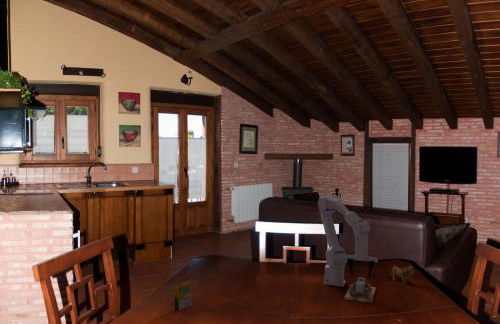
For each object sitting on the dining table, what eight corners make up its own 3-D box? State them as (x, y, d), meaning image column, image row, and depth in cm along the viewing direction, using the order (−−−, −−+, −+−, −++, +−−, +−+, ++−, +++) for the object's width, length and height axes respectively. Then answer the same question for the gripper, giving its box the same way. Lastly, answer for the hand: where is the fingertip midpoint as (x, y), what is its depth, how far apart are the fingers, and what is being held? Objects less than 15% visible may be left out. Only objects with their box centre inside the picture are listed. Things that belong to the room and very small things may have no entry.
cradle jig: (344, 299, 191) (344, 292, 191) (350, 286, 208) (350, 280, 207) (372, 303, 186) (372, 296, 186) (375, 289, 203) (375, 283, 203)
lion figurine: (416, 284, 212) (416, 266, 211) (410, 286, 209) (410, 268, 208) (390, 276, 223) (391, 259, 223) (384, 278, 220) (385, 261, 220)
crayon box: (187, 304, 184) (186, 277, 184) (191, 305, 183) (191, 279, 182) (174, 309, 179) (173, 282, 178) (178, 311, 177) (178, 283, 176)
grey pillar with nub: (355, 294, 192) (356, 282, 192) (358, 287, 202) (358, 275, 201) (362, 295, 191) (362, 283, 191) (364, 288, 201) (365, 276, 200)
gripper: (344, 247, 195) (343, 276, 195) (377, 250, 190) (376, 280, 190) (346, 244, 201) (345, 272, 202) (378, 247, 196) (377, 276, 197)
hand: (360, 276), depth 197 cm, fingers open, 7 cm apart
